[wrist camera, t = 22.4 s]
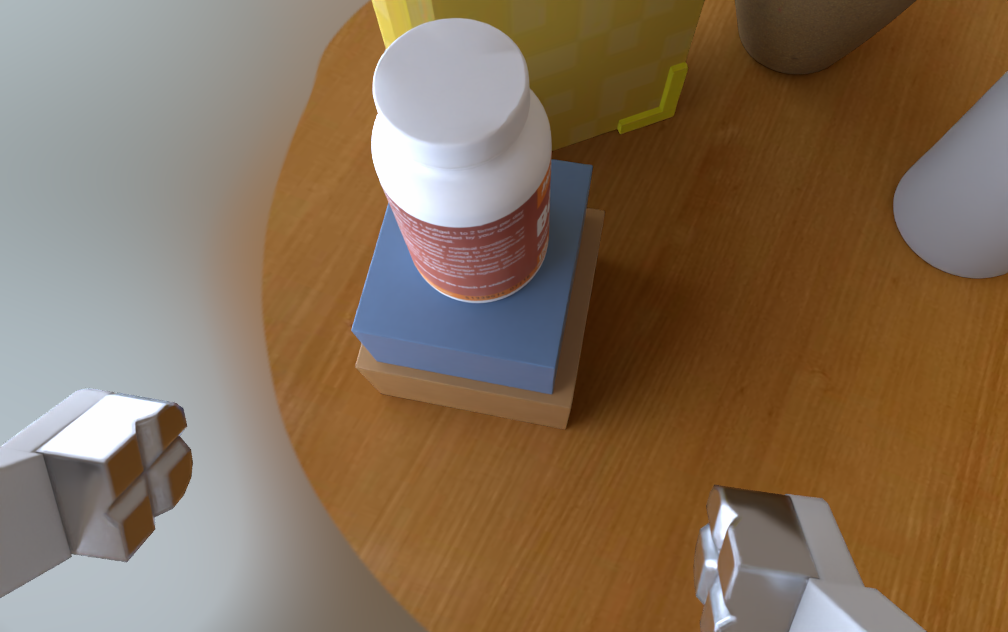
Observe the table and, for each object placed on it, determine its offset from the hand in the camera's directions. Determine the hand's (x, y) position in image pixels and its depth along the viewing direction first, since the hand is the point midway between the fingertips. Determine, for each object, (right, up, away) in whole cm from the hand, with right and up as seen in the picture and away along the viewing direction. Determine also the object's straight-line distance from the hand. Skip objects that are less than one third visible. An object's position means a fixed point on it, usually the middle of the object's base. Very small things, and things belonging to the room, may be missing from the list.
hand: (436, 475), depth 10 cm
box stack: (0, +2, +30) cm, 30 cm away
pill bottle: (0, +6, +20) cm, 21 cm away
